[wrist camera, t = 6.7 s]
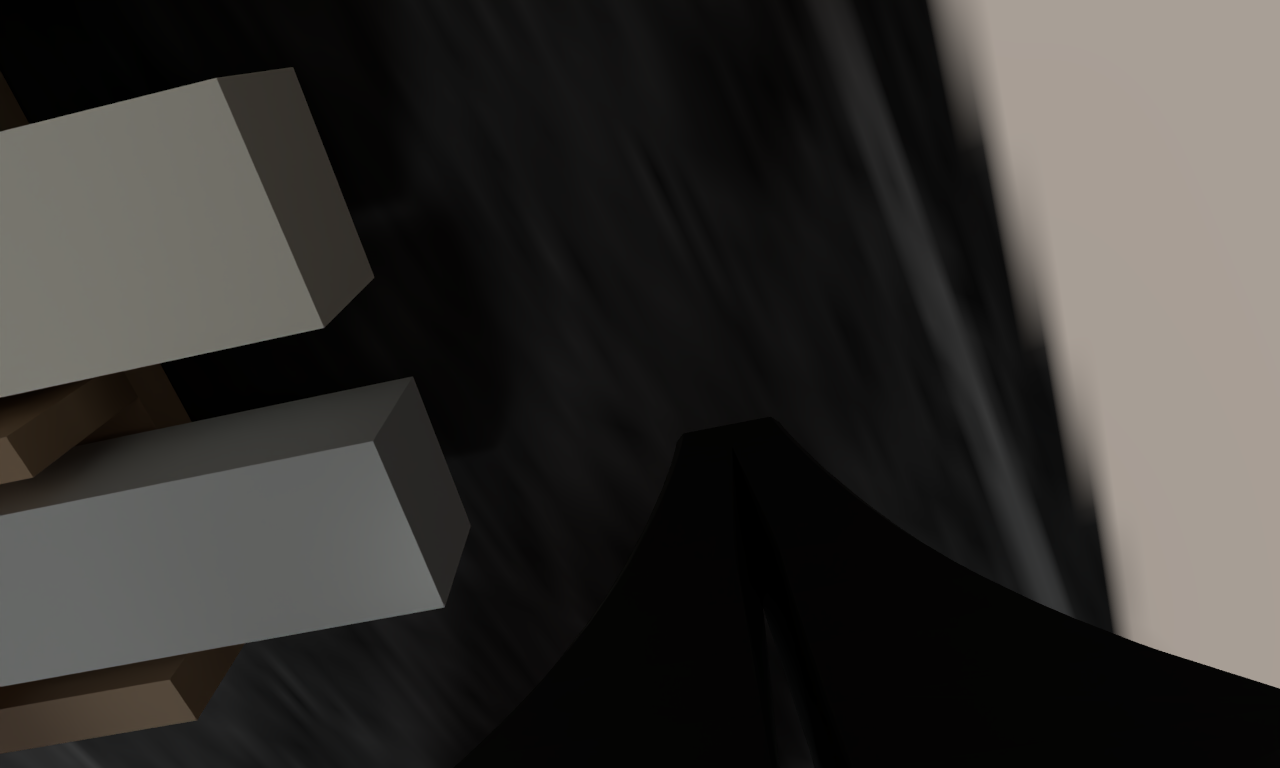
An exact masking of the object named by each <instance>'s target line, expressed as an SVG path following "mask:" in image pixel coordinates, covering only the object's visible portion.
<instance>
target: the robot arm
mask: <svg viewBox="0 0 1280 768" xmlns="http://www.w3.org/2000/svg"><path fill="white" fill-rule="evenodd" d="M763 608H764V611H765V614H766V618H767V621H768V624H769V627H770V630H771V633H772V636H773V639H774V642H775V645H776V648H777V651H778V654H779V657H780V661H781V664H782V667H783V670H784V673H785V676H786V679H787V682H788V685H789V688H790V691H791V694H792V697H793V700H794V703H795V706H796V709H797V712H798V715H799V719H800V722H801V725H802V728H803V731H804V734H805V737H806V740H807V743H808V746H809V749H810V752H811V756H812V759H813V763H814V766H815V768H1280V689H1279V688H1276V687H1273V686H1269V685H1267V684H1263V683H1260V682H1257V681H1254V680H1251V679H1248V678H1244V677H1241V676H1238V675H1235V674H1231V673H1229V672H1225V671H1222V670H1219V669H1216V668H1213V667H1210V666H1206V665H1203V664H1200V663H1197V662H1194V661H1191V660H1187V659H1184V658H1181V657H1178V656H1175V655H1171V654H1168V653H1165V652H1162V651H1159V650H1156V649H1153V648H1150V647H1148V646H1145V645H1142V644H1139V643H1137V642H1134V641H1131V640H1129V639H1126V638H1124V637H1121V636H1118V635H1116V634H1113V633H1111V632H1108V631H1105V630H1103V629H1100V628H1098V627H1095V626H1092V625H1090V624H1087V623H1085V622H1082V621H1079V620H1077V619H1074V618H1072V617H1070V616H1067V615H1065V614H1063V613H1060V612H1058V611H1056V610H1053V609H1051V608H1049V607H1046V606H1044V605H1042V604H1039V603H1037V602H1035V601H1033V600H1030V599H1028V598H1026V597H1024V596H1022V595H1020V594H1018V593H1016V592H1014V591H1012V590H1010V589H1008V588H1005V587H1003V586H1001V585H999V584H997V583H995V582H993V581H991V580H989V579H987V578H985V577H983V576H981V575H979V574H977V573H975V572H973V571H971V570H969V569H967V568H965V567H964V566H962V565H960V564H958V563H956V562H954V561H952V560H951V559H949V558H947V557H946V556H944V555H942V554H941V553H939V552H937V551H936V550H934V549H932V548H931V547H929V546H927V545H925V544H924V543H922V542H921V541H919V540H918V539H916V538H915V537H913V536H911V535H910V534H908V533H907V532H906V531H904V530H903V529H901V528H900V527H898V526H897V525H895V524H894V523H892V522H891V521H890V520H888V519H887V518H886V517H884V516H883V515H882V514H880V513H879V512H877V511H876V510H875V509H873V508H872V507H871V506H869V505H868V504H867V503H865V502H864V501H863V500H862V499H860V498H859V497H858V496H856V495H855V494H854V493H853V492H851V491H850V490H849V489H848V488H847V487H846V486H844V485H843V484H842V483H841V482H840V481H839V480H837V479H836V478H835V477H834V476H833V475H831V474H830V473H829V472H828V471H827V470H826V469H825V468H823V467H822V466H821V465H820V464H819V463H818V462H817V461H816V460H815V459H814V458H813V457H812V456H811V455H810V454H808V453H807V452H806V451H805V450H804V449H803V448H802V447H801V446H800V445H799V444H798V443H797V442H796V441H795V440H794V438H793V437H792V436H791V435H790V434H789V433H788V432H787V431H786V430H785V429H784V427H783V426H782V425H781V424H780V423H779V422H778V421H776V420H775V419H773V418H772V417H767V418H762V419H757V420H752V421H746V422H741V423H736V424H731V425H726V426H720V427H715V428H710V429H705V430H700V431H694V432H689V433H684V434H683V435H682V436H681V438H680V439H679V440H678V442H677V445H676V450H675V454H674V457H673V461H672V464H671V467H670V470H669V473H668V475H667V478H666V481H665V483H664V486H663V489H662V491H661V493H660V496H659V498H658V500H657V502H656V505H655V507H654V509H653V512H652V514H651V516H650V518H649V521H648V523H647V525H646V527H645V529H644V531H643V533H642V535H641V537H640V538H639V540H638V542H637V544H636V546H635V548H634V550H633V551H632V553H631V555H630V557H629V559H628V561H627V563H626V565H625V566H624V568H623V570H622V572H621V573H620V575H619V577H618V578H617V580H616V581H615V583H614V585H613V586H612V588H611V589H610V591H609V593H608V594H607V596H606V597H605V599H604V600H603V602H602V603H601V605H600V606H599V608H598V609H597V610H596V612H595V613H594V615H593V616H592V618H591V619H590V621H589V622H588V623H587V625H586V626H585V627H584V629H583V630H582V631H581V633H580V634H579V635H578V636H577V638H576V639H575V640H574V642H573V643H572V644H571V646H570V647H569V648H568V649H567V651H566V652H565V653H564V655H563V656H562V657H561V658H560V660H559V661H558V662H557V663H556V665H555V666H554V667H553V668H552V669H551V671H550V672H549V673H548V674H547V675H546V677H545V678H544V679H543V680H542V681H541V682H540V683H539V685H538V686H537V687H536V688H535V689H534V690H533V691H532V692H531V693H530V694H529V695H528V696H527V697H526V698H525V699H524V700H523V702H522V703H521V704H520V705H519V706H518V707H517V708H516V709H515V710H514V711H513V712H512V713H511V714H510V715H509V716H508V717H507V718H506V719H505V720H504V721H503V722H502V723H501V724H500V725H499V726H498V727H497V728H496V729H495V730H494V731H493V732H492V733H491V734H490V735H489V736H488V737H487V738H486V739H485V740H484V741H483V742H481V743H480V744H479V745H478V746H477V747H476V748H475V749H474V750H473V751H472V752H471V753H470V754H469V755H467V756H466V757H465V758H464V759H463V760H462V761H461V762H460V763H458V764H457V765H456V766H455V767H454V768H780V765H779V758H778V749H777V739H776V730H775V720H774V710H773V701H772V691H771V681H770V671H769V662H768V652H767V642H766V633H765V623H764V614H763Z"/></svg>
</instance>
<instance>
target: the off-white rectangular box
mask: <svg viewBox="0 0 1280 768" xmlns="http://www.w3.org/2000/svg"><path fill="white" fill-rule="evenodd" d="M374 278H375V277H374V275H373V272H372V270H371V267H370V264H369V262H368V259H367V257H366V254H365V252H364V249H363V246H362V244H361V241H360V239H359V236H358V233H357V231H356V228H355V226H354V223H353V221H352V218H351V215H350V213H349V210H348V208H347V205H346V203H345V200H344V197H343V195H342V192H341V190H340V187H339V184H338V182H337V179H336V177H335V174H334V172H333V169H332V166H331V164H330V161H329V159H328V156H327V154H326V151H325V148H324V146H323V143H322V141H321V138H320V135H319V133H318V130H317V128H316V125H315V123H314V120H313V117H312V115H311V112H310V110H309V107H308V105H307V102H306V99H305V97H304V94H303V92H302V89H301V86H300V84H299V81H298V79H297V76H296V74H295V71H294V68H293V67H289V68H282V69H275V70H268V71H261V72H254V73H247V74H240V75H233V76H226V77H219V78H214V79H210V80H206V81H202V82H198V83H194V84H190V85H186V86H182V87H178V88H174V89H169V90H165V91H161V92H157V93H153V94H149V95H145V96H141V97H137V98H133V99H129V100H125V101H121V102H117V103H113V104H109V105H105V106H101V107H97V108H93V109H89V110H85V111H81V112H77V113H73V114H69V115H65V116H61V117H57V118H53V119H49V120H45V121H41V122H37V123H33V124H29V125H25V126H21V127H17V128H13V129H9V130H5V131H1V132H0V398H1V397H5V396H10V395H15V394H19V393H24V392H29V391H33V390H38V389H43V388H47V387H52V386H56V385H61V384H66V383H70V382H75V381H80V380H84V379H89V378H94V377H98V376H103V375H108V374H112V373H117V372H121V371H126V370H131V369H135V368H140V367H145V366H149V365H154V364H159V363H163V362H168V361H173V360H177V359H182V358H186V357H191V356H196V355H200V354H205V353H210V352H214V351H219V350H224V349H228V348H233V347H238V346H242V345H247V344H252V343H256V342H261V341H265V340H270V339H275V338H279V337H284V336H289V335H293V334H298V333H303V332H307V331H312V330H317V329H321V328H325V327H326V326H327V325H328V324H329V323H330V322H331V321H332V320H333V319H334V318H335V317H336V316H337V315H338V314H339V313H340V312H341V311H342V310H343V309H344V308H345V307H346V306H347V305H348V304H349V303H350V302H351V301H352V300H353V299H354V298H355V297H356V296H357V295H358V294H359V293H360V292H361V291H362V290H363V289H364V288H365V287H366V286H367V285H368V284H369V283H370V282H371V281H372V280H373V279H374Z"/></svg>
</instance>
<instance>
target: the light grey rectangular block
mask: <svg viewBox="0 0 1280 768" xmlns="http://www.w3.org/2000/svg"><path fill="white" fill-rule="evenodd" d="M470 527H471V525H470V522H469V520H468V517H467V515H466V512H465V509H464V507H463V504H462V502H461V499H460V497H459V494H458V491H457V489H456V486H455V484H454V481H453V478H452V476H451V473H450V471H449V468H448V466H447V463H446V460H445V458H444V455H443V453H442V450H441V448H440V445H439V442H438V440H437V437H436V435H435V432H434V429H433V427H432V424H431V422H430V419H429V417H428V414H427V411H426V409H425V406H424V404H423V401H422V399H421V396H420V393H419V391H418V388H417V386H416V383H415V380H414V378H413V376H412V377H407V378H402V379H397V380H393V381H388V382H383V383H378V384H373V385H369V386H364V387H359V388H354V389H349V390H344V391H340V392H335V393H330V394H325V395H320V396H315V397H311V398H306V399H301V400H296V401H291V402H286V403H282V404H277V405H272V406H267V407H262V408H258V409H253V410H248V411H243V412H238V413H233V414H229V415H224V416H219V417H214V418H209V419H204V420H200V421H195V422H190V423H185V424H180V425H176V426H171V427H166V428H161V429H156V430H151V431H147V432H142V433H137V434H132V435H127V436H122V437H118V438H113V439H108V440H103V441H98V442H93V443H89V444H84V445H79V446H74V447H73V448H71V449H70V450H69V451H67V452H66V453H65V454H64V455H62V456H61V457H60V458H58V459H57V460H56V461H54V462H53V463H52V464H50V465H49V466H48V467H47V468H45V469H44V470H43V471H41V472H40V473H39V474H37V475H36V476H35V477H33V478H29V479H24V480H19V481H14V482H9V483H4V484H0V687H2V686H8V685H13V684H19V683H25V682H30V681H36V680H41V679H47V678H53V677H58V676H64V675H69V674H75V673H81V672H86V671H92V670H97V669H103V668H109V667H114V666H120V665H125V664H131V663H137V662H142V661H148V660H153V659H159V658H164V657H170V656H176V655H181V654H187V653H192V652H198V651H204V650H209V649H215V648H220V647H226V646H232V645H237V644H243V643H248V642H254V641H260V640H265V639H271V638H276V637H282V636H288V635H293V634H299V633H304V632H310V631H315V630H321V629H327V628H332V627H338V626H343V625H349V624H355V623H360V622H366V621H371V620H377V619H383V618H388V617H394V616H399V615H405V614H411V613H416V612H422V611H427V610H433V609H438V608H444V607H445V605H446V602H447V599H448V595H449V592H450V589H451V586H452V583H453V580H454V577H455V574H456V571H457V567H458V564H459V561H460V558H461V555H462V552H463V549H464V546H465V542H466V539H467V536H468V533H469V530H470Z"/></svg>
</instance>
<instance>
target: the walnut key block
mask: <svg viewBox="0 0 1280 768" xmlns="http://www.w3.org/2000/svg"><path fill="white" fill-rule="evenodd" d="M25 125H29V122H28V120H27V119H26V117H25V115H24V113H23V111H22V109H21V108H20V106H19V104H18V102H17V100H16V98H15V97H14V95H13V93H12V91H11V89H10V87H9V86H8V84H7V82H6V80H5V78H4V76H3V75H2V73H1V71H0V132H1V131H5V130H9V129H13V128H17V127H21V126H25ZM190 422H192V421H191V420H190V418H189V416H188V414H187V412H186V410H185V409H184V407H183V405H182V403H181V401H180V399H179V398H178V396H177V394H176V392H175V390H174V388H173V387H172V385H171V383H170V381H169V379H168V377H167V375H166V374H165V372H164V370H163V368H162V366H161V364H160V363H159V364H154V365H149V366H145V367H140V368H135V369H131V370H126V371H121V372H117V373H112V374H108V375H103V376H98V377H94V378H89V379H84V380H80V381H75V382H70V383H66V384H61V385H56V386H52V387H47V388H43V389H38V390H33V391H29V392H24V393H19V394H15V395H10V396H5V397H1V398H0V484H4V483H9V482H14V481H19V480H24V479H29V478H33V477H35V476H36V475H37V474H39V473H40V472H41V471H43V470H44V469H45V468H47V467H48V466H49V465H50V464H52V463H53V462H54V461H56V460H57V459H58V458H60V457H61V456H62V455H64V454H65V453H66V452H67V451H69V450H70V449H71V448H73V447H74V446H79V445H84V444H89V443H93V442H98V441H103V440H108V439H113V438H118V437H122V436H127V435H132V434H137V433H142V432H147V431H151V430H156V429H161V428H166V427H171V426H176V425H180V424H185V423H190ZM244 644H245V643H243V644H237V645H232V646H226V647H220V648H215V649H209V650H204V651H198V652H192V653H187V654H181V655H176V656H170V657H164V658H159V659H153V660H148V661H142V662H137V663H131V664H125V665H120V666H114V667H109V668H103V669H97V670H92V671H86V672H81V673H75V674H69V675H64V676H58V677H53V678H47V679H41V680H36V681H30V682H25V683H19V684H13V685H8V686H2V687H0V754H2V753H7V752H13V751H19V750H25V749H31V748H37V747H43V746H49V745H54V744H60V743H66V742H72V741H78V740H84V739H90V738H96V737H101V736H107V735H113V734H119V733H125V732H131V731H137V730H142V729H148V728H154V727H160V726H166V725H172V724H178V723H184V722H189V721H195V720H197V719H198V718H199V716H200V715H201V713H202V711H203V710H204V708H205V707H206V705H207V703H208V702H209V700H210V699H211V697H212V695H213V694H214V692H215V690H216V689H217V687H218V686H219V684H220V682H221V681H222V679H223V678H224V676H225V674H226V673H227V671H228V670H229V668H230V666H231V665H232V663H233V662H234V660H235V658H236V657H237V655H238V654H239V652H240V650H241V649H242V647H243V645H244Z"/></svg>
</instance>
